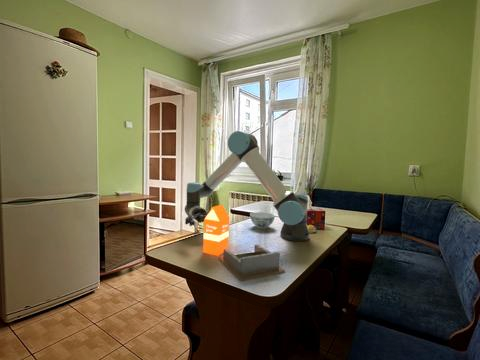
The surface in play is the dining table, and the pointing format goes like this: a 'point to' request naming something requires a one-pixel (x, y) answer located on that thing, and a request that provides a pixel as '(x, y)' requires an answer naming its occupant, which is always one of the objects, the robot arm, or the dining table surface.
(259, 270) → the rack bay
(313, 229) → the bread roll
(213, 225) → the orange juice
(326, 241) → the dining table surface
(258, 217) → the chinaware
